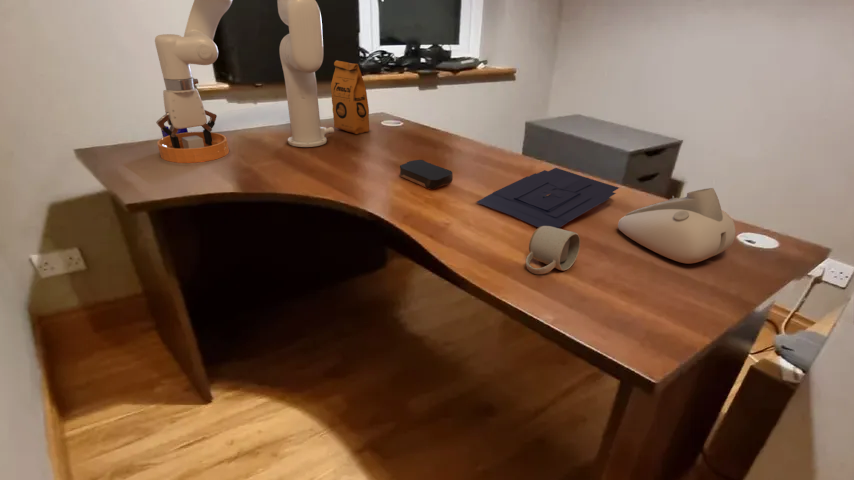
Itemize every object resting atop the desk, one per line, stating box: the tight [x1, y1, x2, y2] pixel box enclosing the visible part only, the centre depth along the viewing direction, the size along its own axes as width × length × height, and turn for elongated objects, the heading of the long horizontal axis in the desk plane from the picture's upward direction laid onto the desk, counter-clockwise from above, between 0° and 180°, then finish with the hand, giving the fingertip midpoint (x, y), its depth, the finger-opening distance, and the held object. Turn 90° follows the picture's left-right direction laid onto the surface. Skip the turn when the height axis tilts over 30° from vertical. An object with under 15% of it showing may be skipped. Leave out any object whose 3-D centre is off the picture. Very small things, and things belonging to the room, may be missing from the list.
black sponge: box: [399, 159, 454, 190], centre depth 148 cm, size 16×8×4 cm, turn 40°
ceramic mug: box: [525, 226, 581, 275], centre depth 106 cm, size 11×8×8 cm
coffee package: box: [330, 60, 370, 135], centre depth 185 cm, size 10×12×22 cm
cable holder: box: [160, 125, 189, 138], centre depth 177 cm, size 8×4×4 cm, turn 147°
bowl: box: [156, 131, 230, 164], centre depth 161 cm, size 19×19×4 cm
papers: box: [476, 167, 620, 229], centre depth 136 cm, size 24×30×4 cm
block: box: [182, 135, 204, 149], centre depth 160 cm, size 4×4×4 cm
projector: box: [617, 187, 737, 265], centre depth 113 cm, size 22×23×15 cm
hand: (193, 147), depth 160 cm, fingers open, 9 cm apart
